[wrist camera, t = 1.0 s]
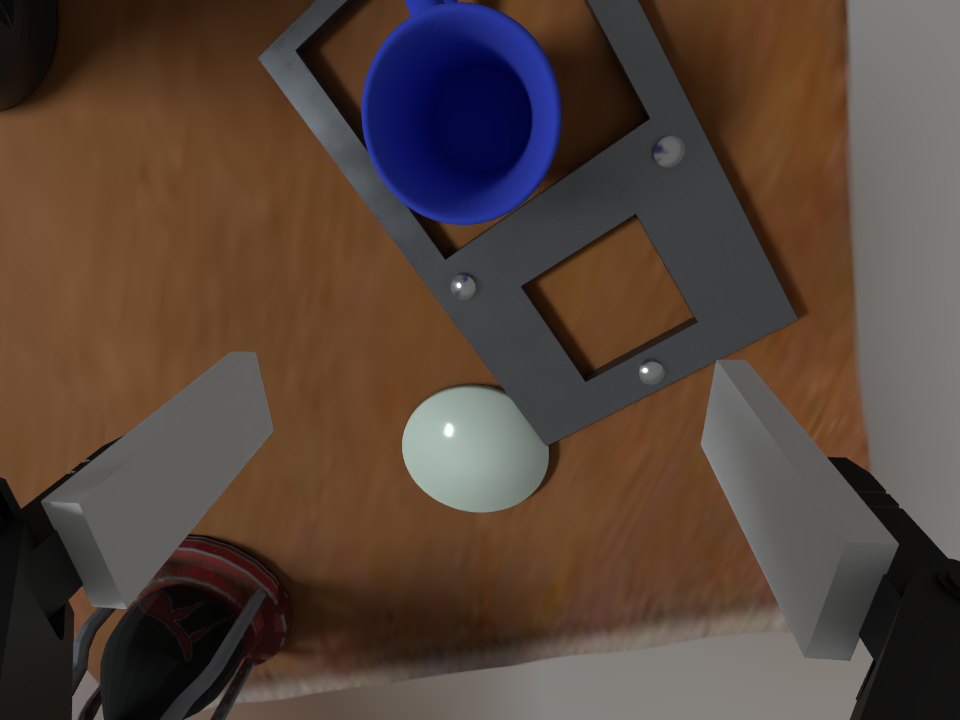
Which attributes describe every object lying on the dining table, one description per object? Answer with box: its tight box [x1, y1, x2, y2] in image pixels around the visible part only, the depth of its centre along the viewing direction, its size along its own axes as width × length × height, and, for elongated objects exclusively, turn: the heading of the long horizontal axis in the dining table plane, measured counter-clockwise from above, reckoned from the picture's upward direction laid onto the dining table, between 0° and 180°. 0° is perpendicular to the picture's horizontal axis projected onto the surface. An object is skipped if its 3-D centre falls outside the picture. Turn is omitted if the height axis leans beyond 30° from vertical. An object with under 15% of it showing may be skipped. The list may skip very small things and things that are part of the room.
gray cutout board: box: [258, 0, 798, 446], centre depth 31 cm, size 30×18×1 cm, turn 35°
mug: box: [362, 0, 562, 225], centre depth 25 cm, size 8×12×10 cm
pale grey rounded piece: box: [402, 384, 549, 512], centre depth 39 cm, size 11×11×1 cm
